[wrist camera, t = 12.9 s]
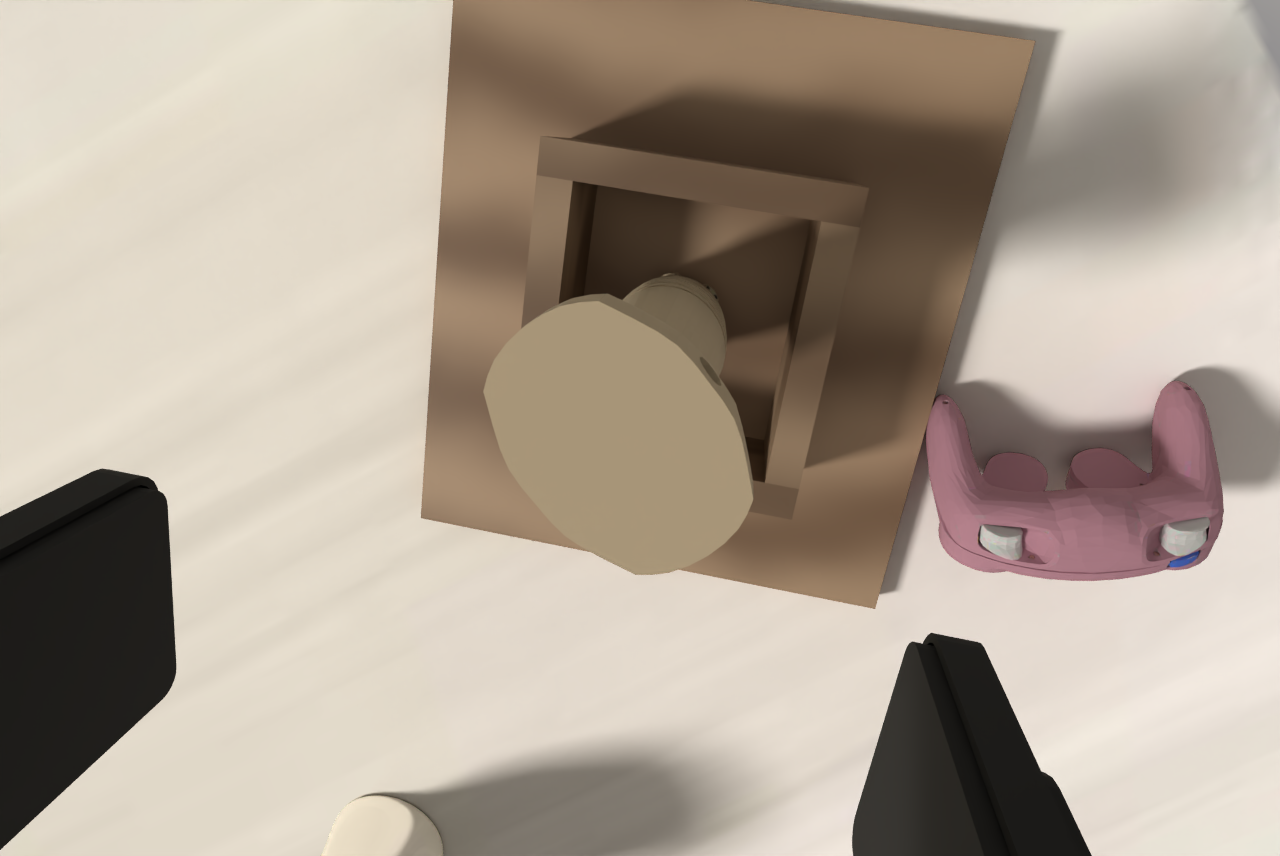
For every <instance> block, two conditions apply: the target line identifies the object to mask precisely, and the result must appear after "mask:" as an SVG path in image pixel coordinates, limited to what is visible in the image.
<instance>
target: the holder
mask: <svg viewBox="0 0 1280 856" xmlns="http://www.w3.org/2000/svg"><path fill="white" fill-rule="evenodd" d="M1034 44H1035V41H1032V40H1025V39H1018V38H1011V37H1004V36H997V35H990V34H983V33H976V32H969V31H962V30H954V29H947V28H940V27H933V26H926V25H919V24H912V23H905V22H898V21H891V20H884V19H877V18H870V17H863V16H856V15H849V14H841V13H834V12H827V11H820V10H813V9H806V8H799V7H792V6H785V5H778V4H771V3H764V2H757V1H750V0H453V14H452V30H451V46H450V61H449V77H448V93H447V109H446V125H445V141H444V157H443V173H442V189H441V205H440V221H439V237H438V253H437V269H436V285H435V301H434V317H433V333H432V349H431V365H430V381H429V397H428V413H427V429H426V445H425V461H424V477H423V493H422V509H421V518H423V519H428V520H433V521H438V522H443V523H448V524H453V525H458V526H463V527H468V528H473V529H478V530H483V531H488V532H493V533H498V534H503V535H508V536H513V537H518V538H523V539H528V540H533V541H538V542H543V543H548V544H553V545H558V546H563V547H568V548H573V549H578V550H583V551H588V550H586V549H584V548H582V547H581V546H579V545H578V544H576V543H575V542H573V541H572V540H570V539H569V538H567V537H566V536H564V535H563V534H562V533H561V532H560V531H559V530H558V529H557V528H556V527H555V526H554V525H553V524H552V523H551V522H550V521H549V520H548V519H547V517H546V516H545V515H544V514H543V513H542V511H541V510H540V509H539V508H538V507H537V505H536V504H535V503H534V502H533V501H532V500H531V498H530V497H529V496H528V495H527V494H526V492H525V491H524V490H523V489H522V488H521V486H520V485H519V484H518V482H517V481H516V479H515V478H514V476H513V475H512V473H511V472H510V471H509V469H508V467H507V464H506V462H505V460H504V458H503V455H502V453H501V451H500V448H499V445H498V441H497V438H496V435H495V431H494V428H493V425H492V421H491V418H490V414H489V410H488V407H487V403H486V399H485V396H484V392H483V391H484V387H485V383H486V379H487V376H488V373H489V371H490V368H491V366H492V364H493V361H494V359H495V358H496V356H497V355H498V354H499V352H500V351H501V350H502V348H503V347H504V346H505V344H506V343H507V342H508V341H509V340H510V339H511V338H512V337H513V336H514V335H515V334H516V333H517V332H518V331H519V330H521V329H522V328H523V327H524V326H525V325H526V324H528V323H529V322H531V321H532V320H533V319H535V318H536V317H538V316H539V315H541V314H542V313H544V312H545V311H547V310H548V309H550V308H551V307H553V306H556V305H558V304H560V303H562V302H565V301H567V300H569V299H571V298H575V297H580V296H586V295H591V294H610V295H612V296H614V297H616V298H618V299H620V300H623V299H624V298H625V297H626V296H627V295H628V294H629V293H630V292H631V291H632V290H634V289H636V288H637V287H639V286H640V285H642V284H643V283H645V282H647V281H650V280H652V279H654V278H658V277H662V276H663V275H664V274H667V273H670V272H677V273H679V274H680V275H681V276H684V277H688V278H691V279H694V280H696V281H698V282H699V283H701V284H708V285H710V286H711V287H712V288H713V289H714V290H715V292H716V294H717V296H718V299H719V301H718V303H719V305H720V307H721V309H722V312H723V315H724V319H725V324H726V334H727V345H726V355H725V360H724V364H723V368H722V371H721V373H720V375H719V377H720V379H721V380H722V382H723V383H724V385H725V386H726V388H727V389H728V391H729V393H730V394H731V396H732V398H733V399H734V401H735V403H736V406H737V409H738V413H739V416H740V420H741V423H742V427H743V432H744V436H745V441H746V445H747V450H748V456H749V461H750V467H751V473H752V479H753V488H754V495H753V502H752V504H751V507H750V509H749V511H748V514H747V516H746V517H745V519H744V521H743V522H742V524H741V526H740V527H739V529H738V530H737V531H736V532H735V533H734V534H733V535H732V536H731V537H730V538H729V539H728V541H727V542H726V543H725V544H723V545H722V546H721V547H719V548H718V549H716V550H715V551H714V552H712V553H711V554H710V555H708V556H707V557H705V558H703V559H701V560H699V561H697V562H695V563H694V564H692V565H690V566H687V567H684V568H681V569H678V570H683V571H688V572H693V573H698V574H703V575H708V576H713V577H718V578H723V579H728V580H733V581H738V582H743V583H748V584H753V585H758V586H763V587H768V588H773V589H778V590H783V591H788V592H793V593H798V594H803V595H808V596H813V597H818V598H823V599H828V600H833V601H838V602H843V603H848V604H853V605H858V606H863V607H868V608H873V609H875V607H876V603H877V600H878V596H879V593H880V589H881V586H882V582H883V579H884V575H885V572H886V568H887V564H888V561H889V557H890V554H891V550H892V547H893V543H894V540H895V536H896V533H897V529H898V526H899V522H900V518H901V515H902V511H903V508H904V504H905V501H906V497H907V494H908V490H909V487H910V483H911V480H912V476H913V472H914V469H915V465H916V462H917V458H918V455H919V451H920V448H921V444H922V441H923V437H924V434H925V430H926V426H927V423H928V419H929V416H930V412H931V409H932V405H933V402H934V398H935V395H936V391H937V388H938V384H939V380H940V377H941V373H942V370H943V366H944V363H945V359H946V356H947V352H948V349H949V345H950V342H951V338H952V334H953V331H954V327H955V324H956V320H957V317H958V313H959V310H960V306H961V303H962V299H963V296H964V292H965V288H966V285H967V281H968V278H969V274H970V271H971V267H972V264H973V260H974V257H975V253H976V250H977V246H978V242H979V239H980V235H981V232H982V228H983V225H984V221H985V218H986V214H987V211H988V207H989V204H990V200H991V196H992V193H993V189H994V186H995V182H996V179H997V175H998V172H999V168H1000V165H1001V161H1002V158H1003V154H1004V150H1005V147H1006V143H1007V140H1008V136H1009V133H1010V129H1011V126H1012V122H1013V119H1014V115H1015V112H1016V108H1017V104H1018V101H1019V97H1020V94H1021V90H1022V87H1023V83H1024V80H1025V76H1026V73H1027V69H1028V66H1029V62H1030V58H1031V55H1032V51H1033V48H1034ZM588 552H590V551H588Z"/></svg>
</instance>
